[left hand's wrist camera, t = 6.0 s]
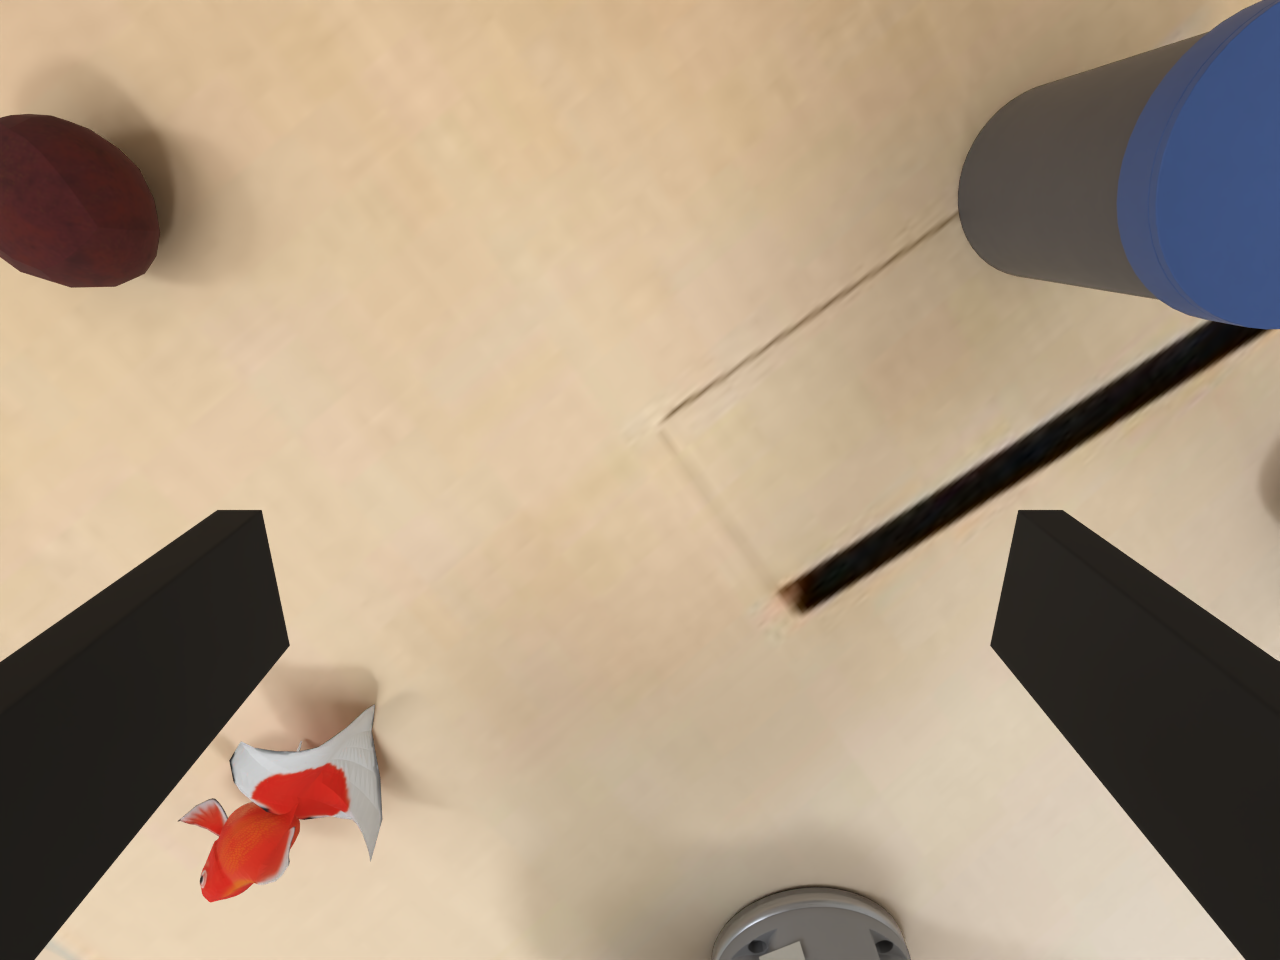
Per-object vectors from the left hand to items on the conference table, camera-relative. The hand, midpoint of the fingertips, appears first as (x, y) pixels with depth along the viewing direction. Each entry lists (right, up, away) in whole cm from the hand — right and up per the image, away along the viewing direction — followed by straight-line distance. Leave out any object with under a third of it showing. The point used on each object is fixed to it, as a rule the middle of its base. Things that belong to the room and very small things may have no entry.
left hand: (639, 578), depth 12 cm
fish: (-23, -17, +37) cm, 46 cm away
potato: (-27, +16, +24) cm, 39 cm away
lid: (+21, +12, +9) cm, 26 cm away
